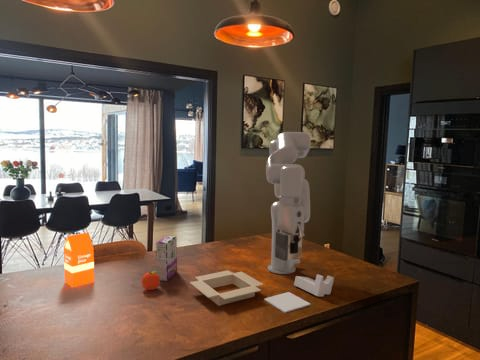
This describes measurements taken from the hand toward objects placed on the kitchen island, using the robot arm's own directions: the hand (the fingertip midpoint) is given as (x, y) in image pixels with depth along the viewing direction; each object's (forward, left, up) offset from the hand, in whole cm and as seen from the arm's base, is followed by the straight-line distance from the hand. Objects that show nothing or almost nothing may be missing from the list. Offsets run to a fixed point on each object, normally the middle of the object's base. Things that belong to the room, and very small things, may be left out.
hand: (288, 250), depth 134 cm
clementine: (+38, -36, -20) cm, 56 cm away
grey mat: (0, 0, -20) cm, 20 cm away
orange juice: (+61, -57, -20) cm, 86 cm away
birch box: (0, 0, -2) cm, 2 cm away
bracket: (-17, -4, -20) cm, 26 cm away
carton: (+15, -18, -20) cm, 31 cm away
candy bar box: (+28, -46, -20) cm, 57 cm away
